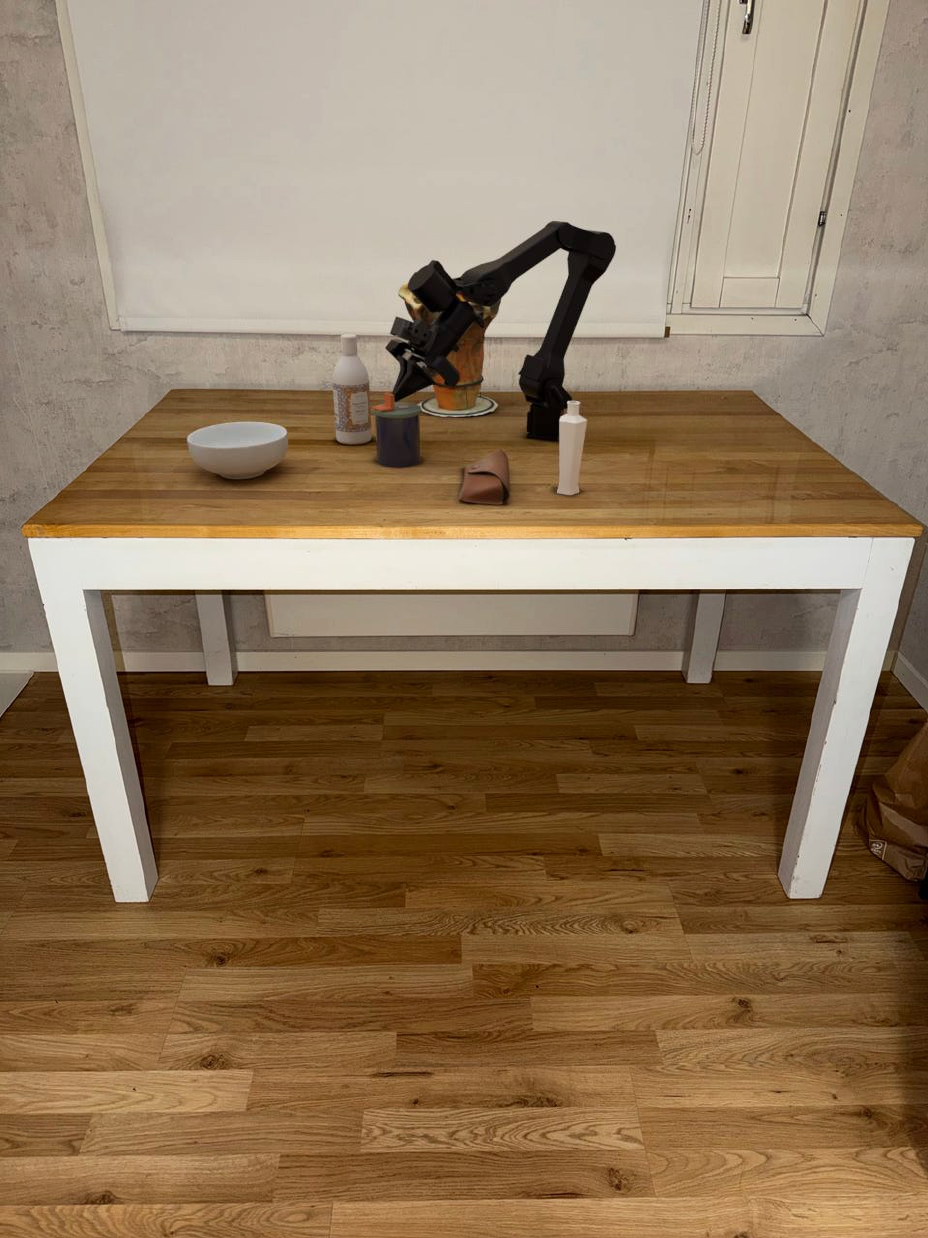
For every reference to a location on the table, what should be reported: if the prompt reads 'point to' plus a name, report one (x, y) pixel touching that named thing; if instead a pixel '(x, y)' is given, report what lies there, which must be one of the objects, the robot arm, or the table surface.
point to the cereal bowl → (238, 448)
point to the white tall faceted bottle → (570, 448)
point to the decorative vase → (458, 364)
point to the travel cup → (398, 435)
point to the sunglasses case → (487, 480)
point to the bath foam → (351, 395)
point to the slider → (386, 403)
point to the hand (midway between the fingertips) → (392, 400)
